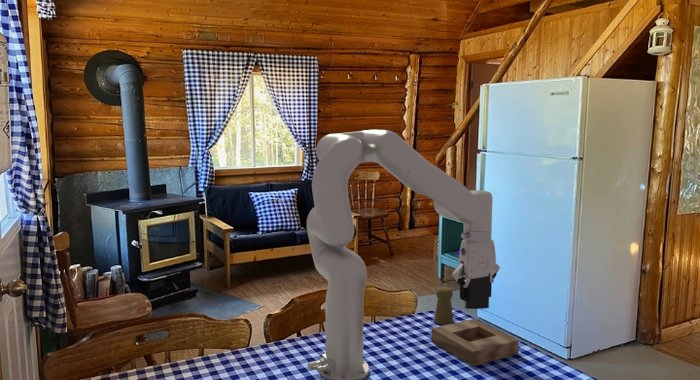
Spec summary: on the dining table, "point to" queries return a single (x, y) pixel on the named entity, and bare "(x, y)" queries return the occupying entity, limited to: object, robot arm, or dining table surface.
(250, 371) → the dining table surface
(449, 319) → the cork
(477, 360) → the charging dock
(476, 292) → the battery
